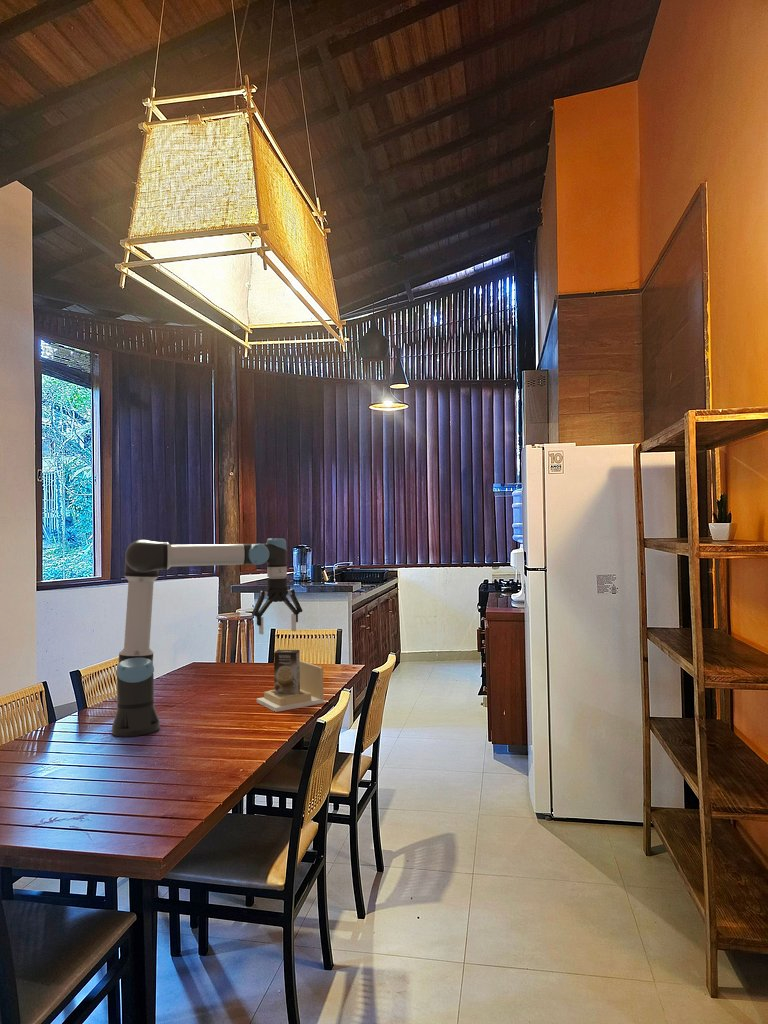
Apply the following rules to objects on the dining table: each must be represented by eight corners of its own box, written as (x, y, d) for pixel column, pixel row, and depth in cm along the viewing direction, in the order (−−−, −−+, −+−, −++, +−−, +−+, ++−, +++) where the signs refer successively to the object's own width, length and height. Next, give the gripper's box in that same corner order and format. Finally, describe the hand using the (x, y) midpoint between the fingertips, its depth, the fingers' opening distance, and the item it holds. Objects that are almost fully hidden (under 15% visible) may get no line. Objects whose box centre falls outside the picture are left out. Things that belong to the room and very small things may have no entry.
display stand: (275, 712, 238) (274, 675, 239) (256, 702, 253) (255, 667, 254) (323, 703, 249) (322, 667, 250) (303, 694, 264) (302, 660, 265)
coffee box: (273, 694, 248) (272, 652, 249) (277, 690, 254) (277, 649, 255) (297, 694, 247) (296, 652, 248) (300, 690, 254) (300, 649, 254)
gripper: (250, 579, 244) (250, 636, 243) (310, 576, 257) (311, 630, 256) (243, 578, 250) (243, 634, 249) (302, 575, 263) (302, 628, 262)
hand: (277, 632), depth 252 cm, fingers open, 13 cm apart
